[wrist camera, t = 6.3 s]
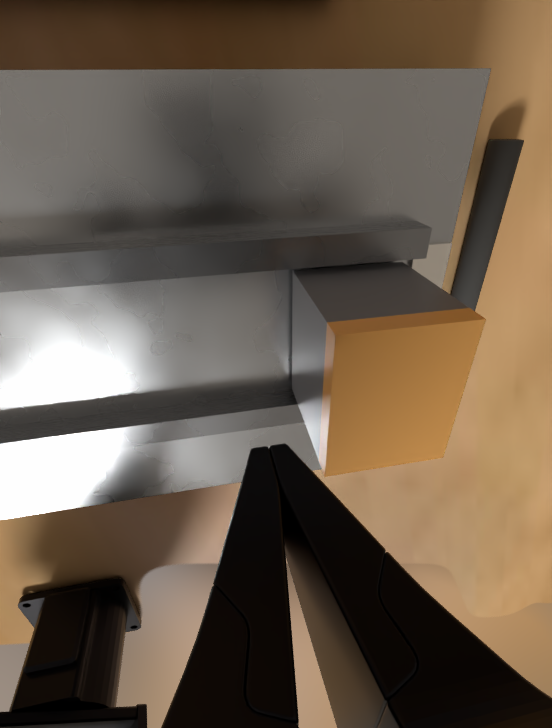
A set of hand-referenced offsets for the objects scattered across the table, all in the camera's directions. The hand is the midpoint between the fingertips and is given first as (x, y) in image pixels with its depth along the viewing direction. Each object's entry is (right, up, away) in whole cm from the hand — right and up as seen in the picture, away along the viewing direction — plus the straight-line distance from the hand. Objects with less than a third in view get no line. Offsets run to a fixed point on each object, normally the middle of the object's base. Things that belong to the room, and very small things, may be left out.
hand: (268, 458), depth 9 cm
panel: (-4, +5, +8) cm, 10 cm away
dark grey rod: (+9, +6, +9) cm, 14 cm away
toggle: (+3, +4, +6) cm, 7 cm away
